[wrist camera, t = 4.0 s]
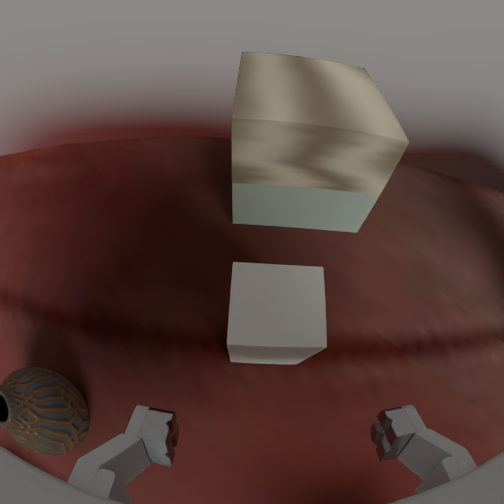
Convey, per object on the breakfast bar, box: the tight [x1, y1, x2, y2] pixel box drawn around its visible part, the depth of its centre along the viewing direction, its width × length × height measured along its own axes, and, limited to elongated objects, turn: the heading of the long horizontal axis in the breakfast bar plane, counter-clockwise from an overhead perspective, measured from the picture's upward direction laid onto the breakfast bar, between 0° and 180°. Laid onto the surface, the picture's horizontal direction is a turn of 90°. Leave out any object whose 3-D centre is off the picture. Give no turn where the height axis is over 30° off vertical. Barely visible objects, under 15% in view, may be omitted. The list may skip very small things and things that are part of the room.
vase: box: [0, 367, 89, 455], centre depth 13 cm, size 7×7×9 cm
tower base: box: [232, 183, 380, 233], centre depth 27 cm, size 12×12×6 cm
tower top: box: [232, 52, 409, 195], centre depth 21 cm, size 12×12×6 cm
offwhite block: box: [227, 262, 327, 364], centre depth 18 cm, size 5×4×8 cm
